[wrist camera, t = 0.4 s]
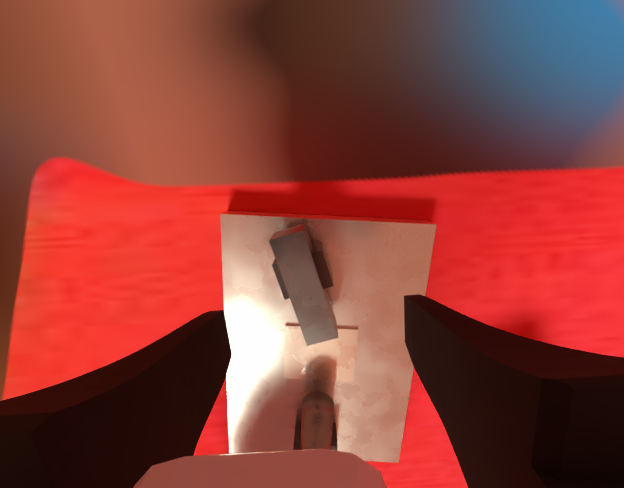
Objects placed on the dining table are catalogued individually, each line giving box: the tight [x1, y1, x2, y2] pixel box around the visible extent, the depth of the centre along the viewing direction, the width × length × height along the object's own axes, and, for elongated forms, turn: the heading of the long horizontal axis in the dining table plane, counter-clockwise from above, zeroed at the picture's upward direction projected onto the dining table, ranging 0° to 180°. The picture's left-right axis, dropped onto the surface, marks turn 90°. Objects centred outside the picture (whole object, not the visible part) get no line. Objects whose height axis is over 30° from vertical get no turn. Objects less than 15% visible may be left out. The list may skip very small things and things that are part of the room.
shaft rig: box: [220, 210, 437, 463], centre depth 21 cm, size 20×14×5 cm
